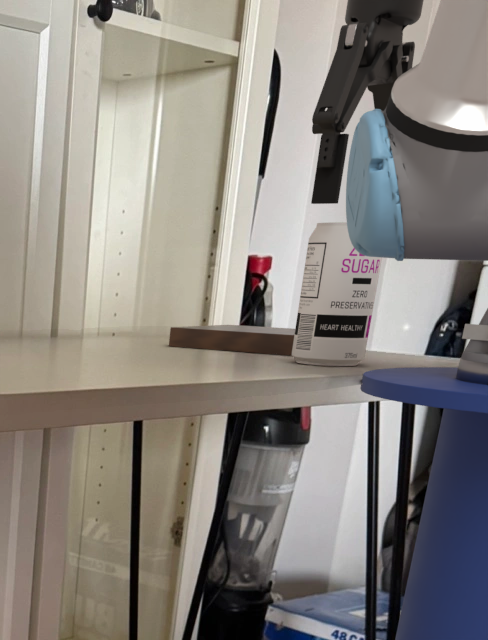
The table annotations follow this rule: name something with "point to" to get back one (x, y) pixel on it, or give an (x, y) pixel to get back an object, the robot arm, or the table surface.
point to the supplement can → (335, 299)
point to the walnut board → (234, 338)
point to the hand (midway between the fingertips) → (351, 207)
